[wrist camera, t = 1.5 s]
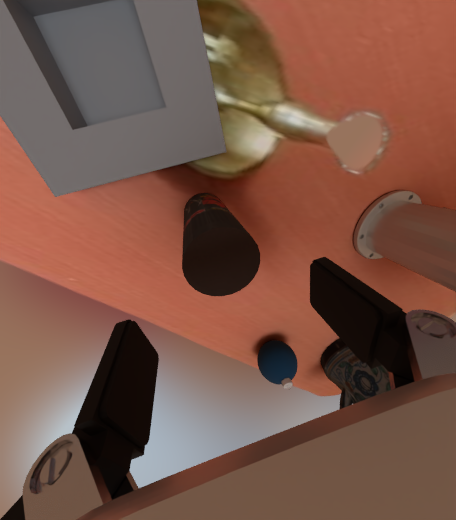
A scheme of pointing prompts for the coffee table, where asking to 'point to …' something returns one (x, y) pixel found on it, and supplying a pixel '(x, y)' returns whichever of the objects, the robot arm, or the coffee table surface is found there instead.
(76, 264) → the coffee table surface
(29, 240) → the coffee table surface
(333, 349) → the beer stein
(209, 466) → the robot arm
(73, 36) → the socket block
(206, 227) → the deodorant
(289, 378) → the christmas ornament
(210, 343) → the coffee table surface
